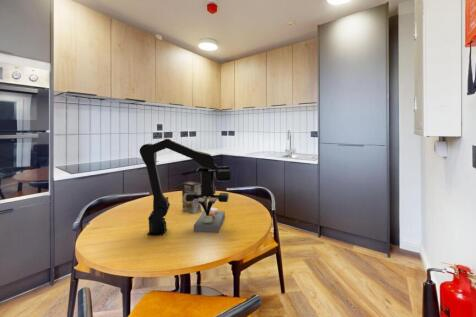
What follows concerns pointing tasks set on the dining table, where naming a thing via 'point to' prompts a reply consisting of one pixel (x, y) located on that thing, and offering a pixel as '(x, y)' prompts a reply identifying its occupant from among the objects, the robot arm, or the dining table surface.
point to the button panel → (212, 226)
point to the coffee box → (193, 205)
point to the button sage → (207, 219)
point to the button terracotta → (212, 214)
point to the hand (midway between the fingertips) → (207, 215)
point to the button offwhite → (213, 210)
